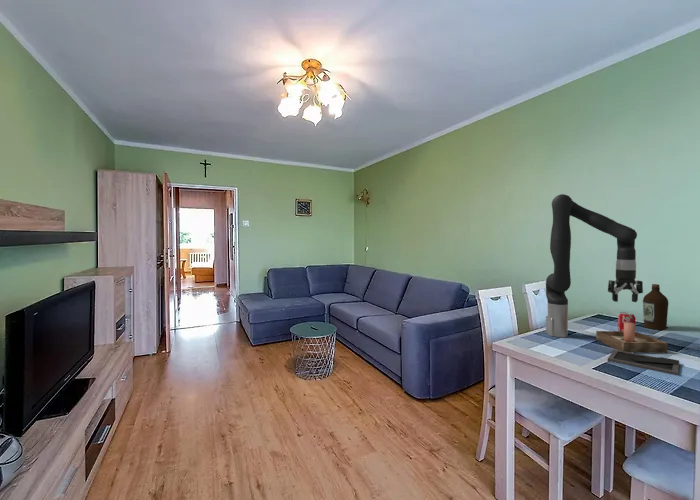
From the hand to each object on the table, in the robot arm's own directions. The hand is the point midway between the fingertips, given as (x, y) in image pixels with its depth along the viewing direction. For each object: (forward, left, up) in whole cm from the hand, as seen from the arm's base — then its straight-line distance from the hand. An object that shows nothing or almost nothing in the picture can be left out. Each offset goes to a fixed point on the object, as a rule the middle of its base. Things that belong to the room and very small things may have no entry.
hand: (624, 301), depth 158 cm
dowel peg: (0, -3, -21) cm, 21 cm away
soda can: (+11, +14, -21) cm, 28 cm away
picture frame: (-10, -24, -22) cm, 34 cm away
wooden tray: (0, -3, -21) cm, 21 cm away
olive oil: (+37, +29, -21) cm, 51 cm away
